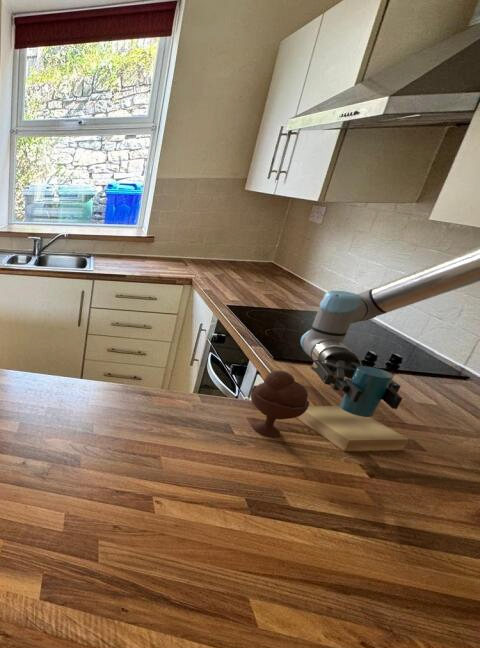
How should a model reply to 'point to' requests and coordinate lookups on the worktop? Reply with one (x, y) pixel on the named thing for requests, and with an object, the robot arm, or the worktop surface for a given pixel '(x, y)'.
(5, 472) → the worktop surface
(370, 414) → the canister
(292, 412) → the ice cream bowl
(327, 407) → the platform
